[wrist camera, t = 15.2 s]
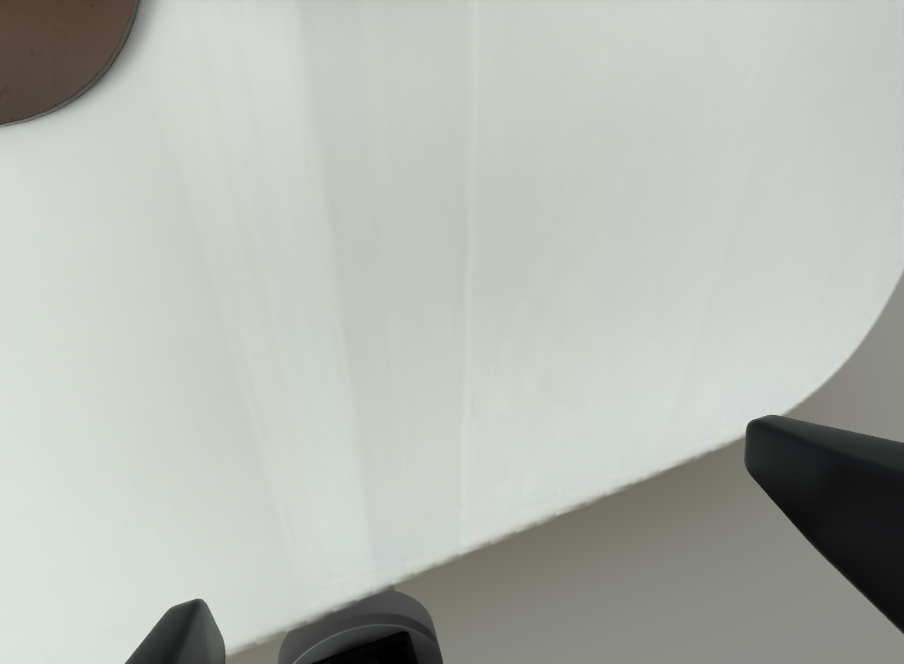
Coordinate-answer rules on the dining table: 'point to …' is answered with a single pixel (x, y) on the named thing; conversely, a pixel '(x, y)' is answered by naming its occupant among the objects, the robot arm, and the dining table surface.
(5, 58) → the coaster
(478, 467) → the dining table surface
